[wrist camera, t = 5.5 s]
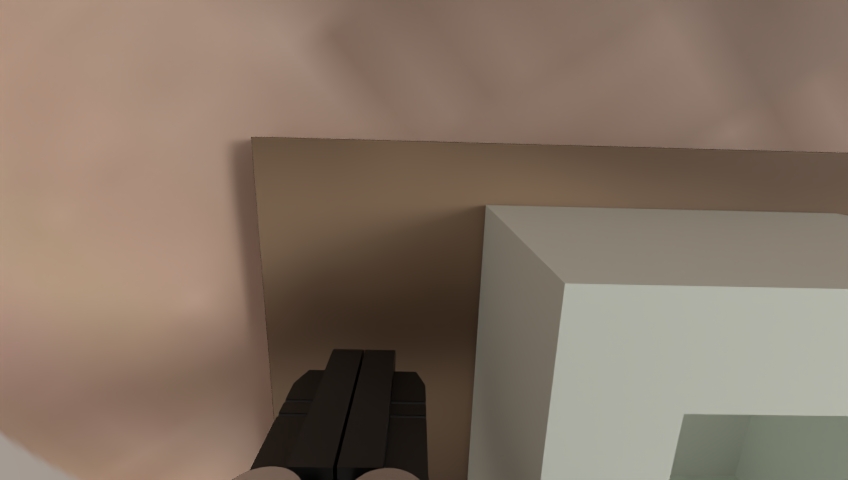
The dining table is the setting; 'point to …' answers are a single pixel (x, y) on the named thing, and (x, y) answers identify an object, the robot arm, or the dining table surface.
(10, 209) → the dining table surface
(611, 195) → the walnut angle bracket
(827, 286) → the hole block
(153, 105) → the dining table surface
